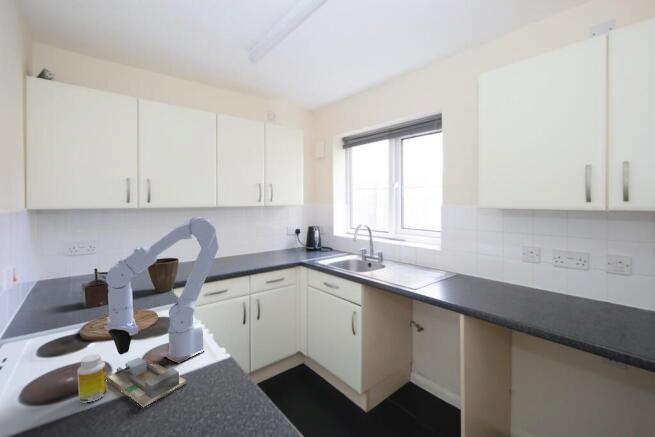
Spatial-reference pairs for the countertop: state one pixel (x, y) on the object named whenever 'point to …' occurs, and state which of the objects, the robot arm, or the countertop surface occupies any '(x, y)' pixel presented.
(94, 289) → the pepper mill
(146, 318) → the trivet
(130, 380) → the gauge base
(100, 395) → the supplement bottle
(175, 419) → the countertop surface
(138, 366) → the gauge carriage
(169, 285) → the plant pot
